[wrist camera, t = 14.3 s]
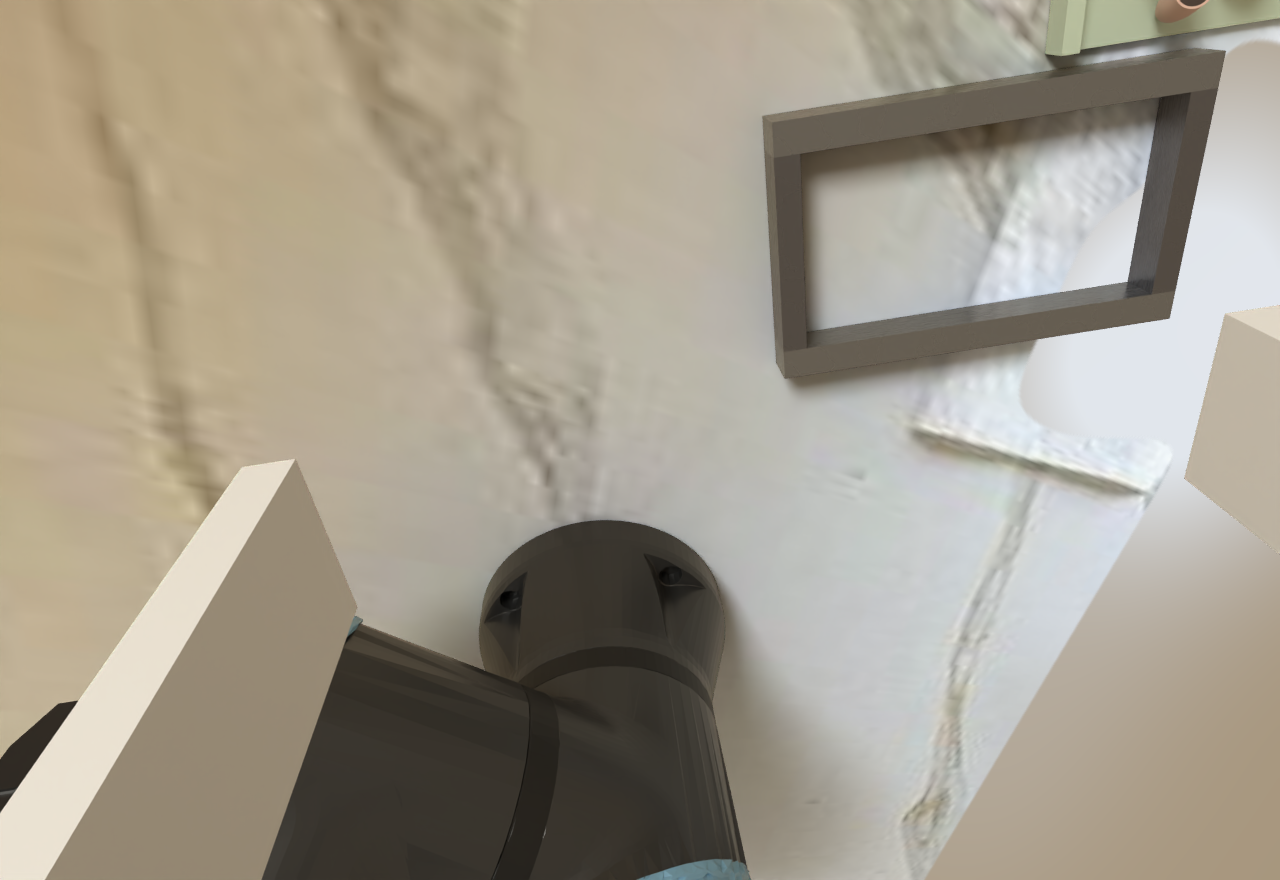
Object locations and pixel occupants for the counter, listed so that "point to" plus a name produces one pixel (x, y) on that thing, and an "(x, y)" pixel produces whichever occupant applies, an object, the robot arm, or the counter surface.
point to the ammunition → (1176, 9)
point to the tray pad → (1140, 21)
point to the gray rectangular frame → (1174, 153)
